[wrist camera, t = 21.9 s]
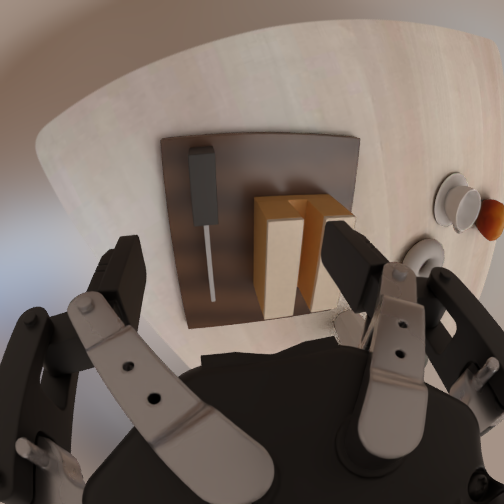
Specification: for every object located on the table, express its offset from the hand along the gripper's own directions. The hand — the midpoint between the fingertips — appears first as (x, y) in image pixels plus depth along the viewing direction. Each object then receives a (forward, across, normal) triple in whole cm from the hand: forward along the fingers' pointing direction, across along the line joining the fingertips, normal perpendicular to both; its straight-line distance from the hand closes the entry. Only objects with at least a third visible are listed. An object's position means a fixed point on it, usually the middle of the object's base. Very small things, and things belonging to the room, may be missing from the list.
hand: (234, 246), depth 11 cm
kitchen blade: (+18, +1, +7) cm, 19 cm away
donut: (+20, -34, +17) cm, 43 cm away
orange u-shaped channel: (+18, -9, +11) cm, 23 cm away
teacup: (+20, -39, +6) cm, 44 cm away
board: (+20, -6, +11) cm, 23 cm away
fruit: (+20, -52, +8) cm, 56 cm away
